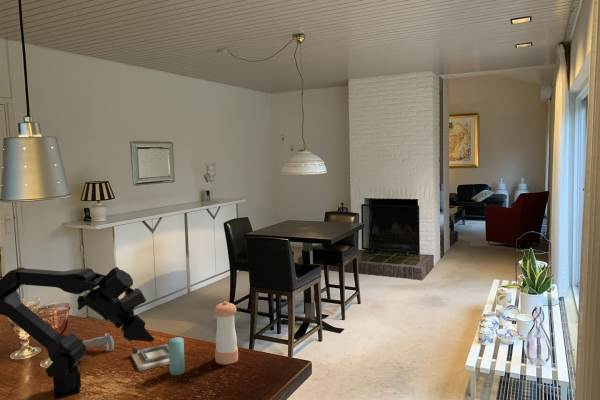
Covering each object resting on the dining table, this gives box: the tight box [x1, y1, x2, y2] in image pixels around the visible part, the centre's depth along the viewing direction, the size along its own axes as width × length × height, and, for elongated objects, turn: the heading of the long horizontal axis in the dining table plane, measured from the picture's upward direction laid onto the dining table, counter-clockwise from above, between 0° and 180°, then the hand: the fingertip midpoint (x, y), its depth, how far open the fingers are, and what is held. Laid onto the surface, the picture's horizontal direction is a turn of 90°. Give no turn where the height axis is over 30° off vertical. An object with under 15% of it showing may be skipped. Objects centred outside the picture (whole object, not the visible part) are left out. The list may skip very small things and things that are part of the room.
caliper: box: [82, 332, 115, 352], centre depth 159 cm, size 20×1×6 cm, turn 79°
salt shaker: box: [213, 300, 239, 365], centre depth 149 cm, size 7×7×19 cm
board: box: [130, 337, 173, 372], centre depth 152 cm, size 14×13×3 cm
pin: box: [167, 336, 185, 376], centre depth 142 cm, size 4×4×10 cm
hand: (148, 335), depth 136 cm, fingers open, 9 cm apart
